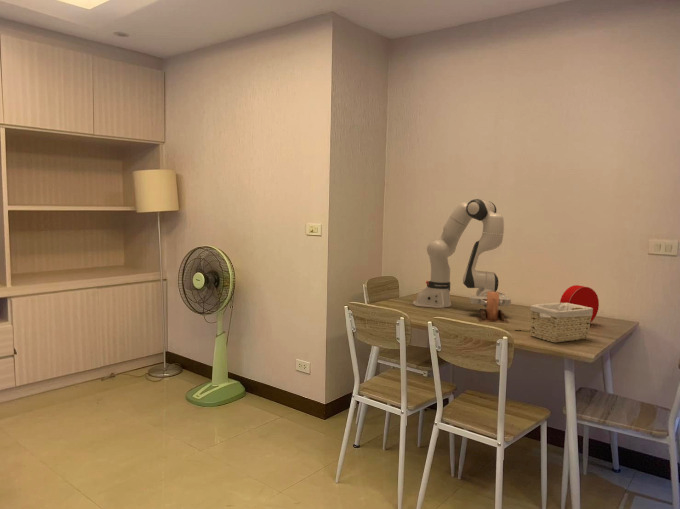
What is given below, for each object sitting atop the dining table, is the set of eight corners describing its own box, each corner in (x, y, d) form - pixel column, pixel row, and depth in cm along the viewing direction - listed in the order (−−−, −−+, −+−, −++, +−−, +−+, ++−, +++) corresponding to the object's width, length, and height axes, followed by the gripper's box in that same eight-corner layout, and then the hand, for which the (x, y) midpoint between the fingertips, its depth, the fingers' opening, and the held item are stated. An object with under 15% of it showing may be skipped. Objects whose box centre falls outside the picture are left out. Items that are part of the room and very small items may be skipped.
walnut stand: (479, 324, 260) (479, 313, 260) (474, 317, 275) (474, 307, 275) (510, 325, 259) (510, 315, 259) (503, 318, 274) (504, 309, 273)
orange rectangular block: (487, 321, 262) (489, 293, 261) (484, 317, 270) (486, 290, 269) (499, 321, 261) (501, 294, 260) (496, 318, 270) (498, 291, 268)
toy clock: (588, 322, 271) (590, 284, 269) (597, 325, 265) (600, 286, 263) (558, 324, 263) (560, 285, 262) (566, 327, 258) (569, 287, 256)
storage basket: (563, 331, 250) (565, 301, 248) (592, 339, 235) (595, 307, 234) (526, 336, 239) (528, 304, 237) (555, 345, 224) (557, 311, 223)
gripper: (468, 292, 280) (472, 296, 266) (507, 293, 278) (513, 298, 264) (467, 303, 280) (472, 308, 267) (506, 305, 279) (512, 310, 265)
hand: (493, 303), depth 265 cm, fingers closed on orange rectangular block, 6 cm apart
